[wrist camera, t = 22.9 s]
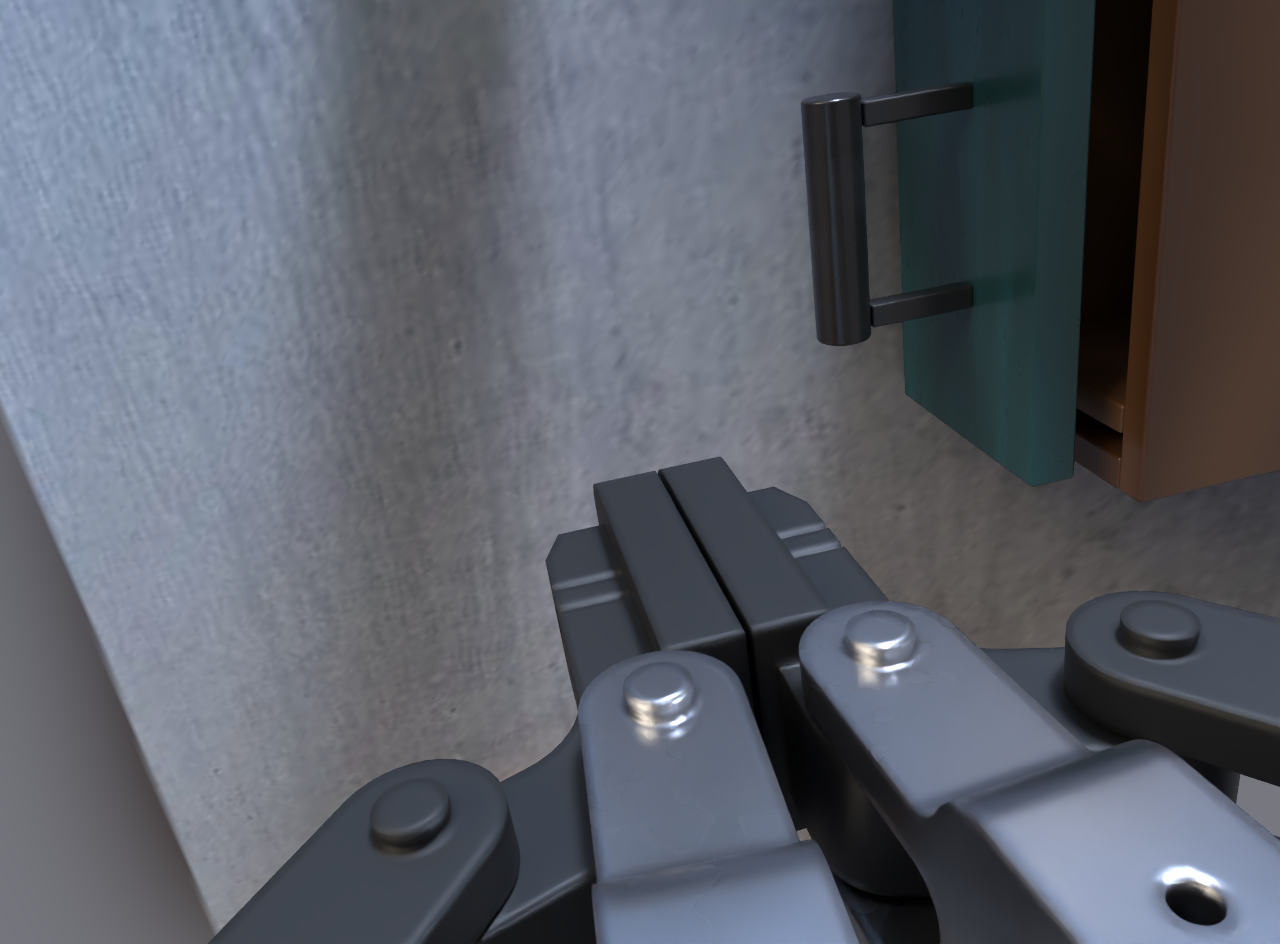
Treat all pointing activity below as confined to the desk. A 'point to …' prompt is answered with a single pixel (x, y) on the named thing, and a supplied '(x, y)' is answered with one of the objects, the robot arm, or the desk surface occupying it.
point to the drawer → (996, 216)
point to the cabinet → (1203, 260)
